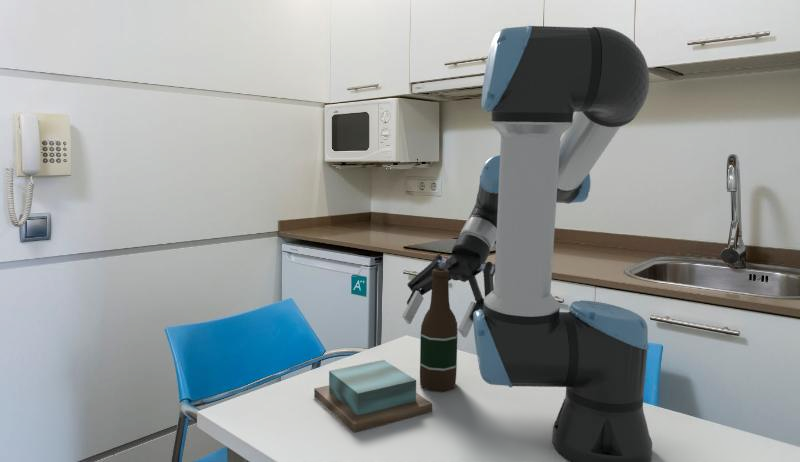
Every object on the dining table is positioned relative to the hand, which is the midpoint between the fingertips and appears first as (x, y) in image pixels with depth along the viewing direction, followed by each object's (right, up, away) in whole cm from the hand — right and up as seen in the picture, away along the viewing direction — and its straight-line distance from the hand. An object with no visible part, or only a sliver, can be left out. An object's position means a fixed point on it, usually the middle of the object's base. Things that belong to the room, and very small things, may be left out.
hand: (432, 326), depth 113 cm
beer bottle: (+1, -13, +3) cm, 13 cm away
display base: (-12, -13, -6) cm, 19 cm away
